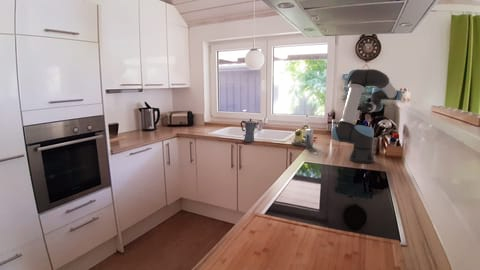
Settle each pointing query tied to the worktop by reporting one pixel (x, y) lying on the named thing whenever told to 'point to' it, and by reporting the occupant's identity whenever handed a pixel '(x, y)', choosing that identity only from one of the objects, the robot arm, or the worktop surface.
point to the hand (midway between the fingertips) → (351, 108)
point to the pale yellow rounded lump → (298, 138)
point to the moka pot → (249, 130)
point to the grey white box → (309, 138)
